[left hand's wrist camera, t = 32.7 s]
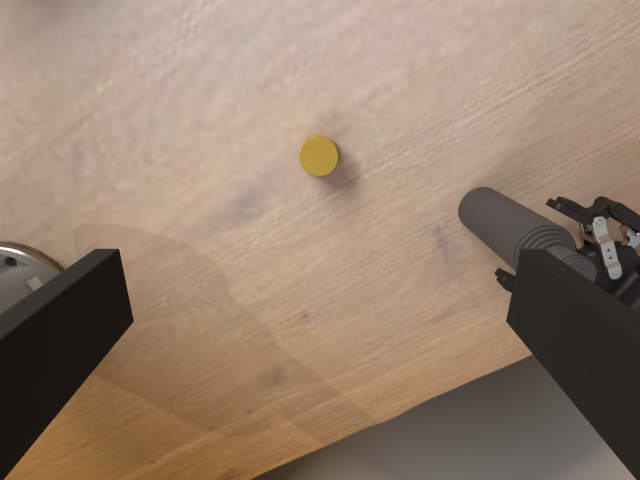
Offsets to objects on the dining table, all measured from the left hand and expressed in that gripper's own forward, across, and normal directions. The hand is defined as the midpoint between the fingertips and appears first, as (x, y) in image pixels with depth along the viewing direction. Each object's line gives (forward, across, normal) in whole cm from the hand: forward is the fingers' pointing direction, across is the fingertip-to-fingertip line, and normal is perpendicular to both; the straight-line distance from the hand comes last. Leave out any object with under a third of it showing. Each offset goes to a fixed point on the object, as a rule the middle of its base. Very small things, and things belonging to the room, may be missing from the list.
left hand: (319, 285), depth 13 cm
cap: (+28, 0, 0) cm, 28 cm away
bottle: (+30, +18, -6) cm, 36 cm away
